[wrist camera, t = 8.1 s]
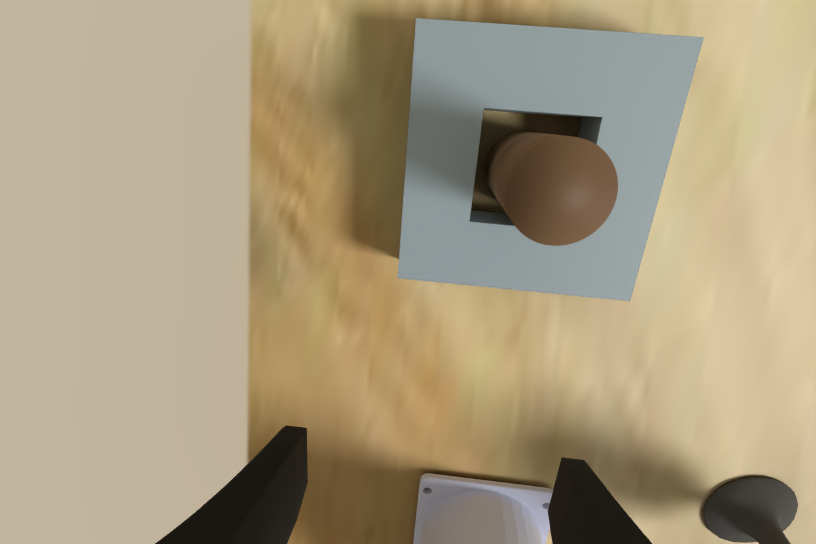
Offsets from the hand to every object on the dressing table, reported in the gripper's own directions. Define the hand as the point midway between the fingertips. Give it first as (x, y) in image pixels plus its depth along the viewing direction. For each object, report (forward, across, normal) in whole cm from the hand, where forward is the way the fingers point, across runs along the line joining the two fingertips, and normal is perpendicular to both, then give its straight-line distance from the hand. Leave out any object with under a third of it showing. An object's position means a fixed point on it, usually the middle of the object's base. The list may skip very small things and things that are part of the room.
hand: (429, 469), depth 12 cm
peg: (+10, -3, -7) cm, 13 cm away
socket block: (+10, -3, -8) cm, 13 cm away
